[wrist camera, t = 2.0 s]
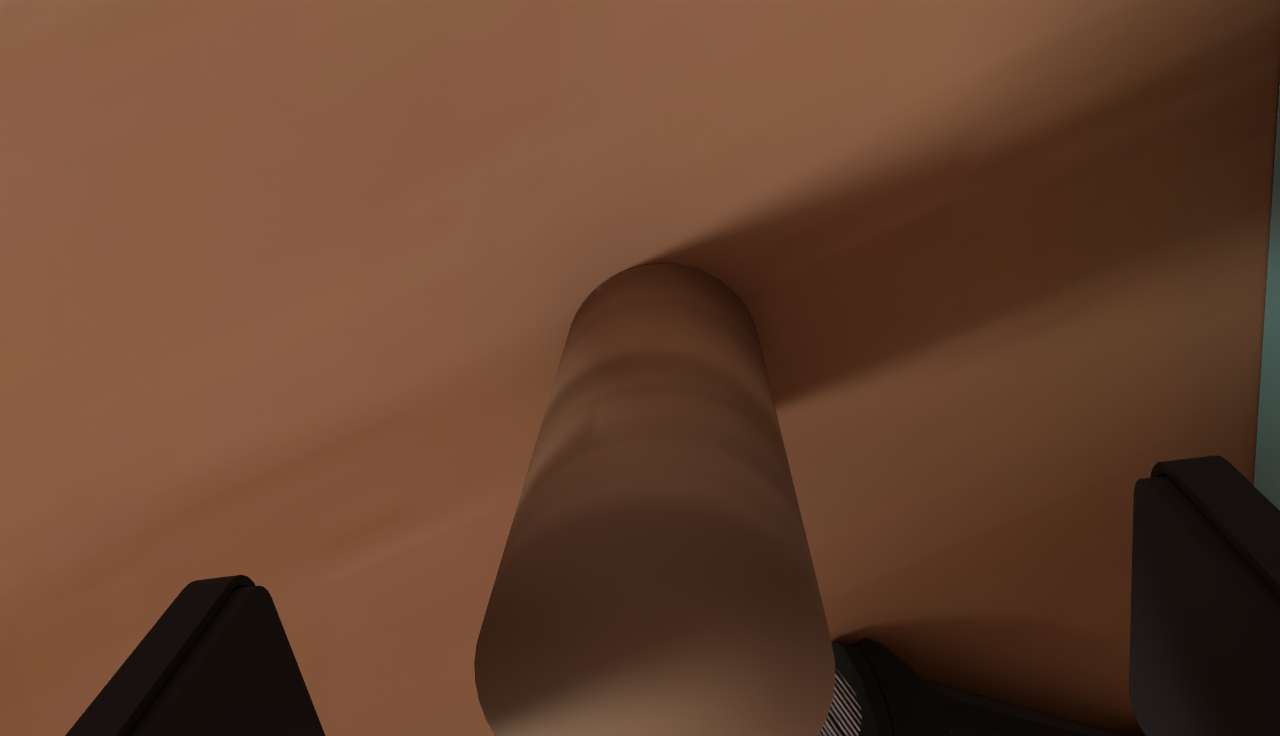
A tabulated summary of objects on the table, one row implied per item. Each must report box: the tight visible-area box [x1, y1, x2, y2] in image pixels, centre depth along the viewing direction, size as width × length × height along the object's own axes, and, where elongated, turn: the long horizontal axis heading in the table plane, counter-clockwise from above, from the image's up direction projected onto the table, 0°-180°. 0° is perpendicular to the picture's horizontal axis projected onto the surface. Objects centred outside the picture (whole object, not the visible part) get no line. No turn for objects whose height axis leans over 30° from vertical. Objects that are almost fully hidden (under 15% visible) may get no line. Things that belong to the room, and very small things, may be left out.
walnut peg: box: [474, 263, 835, 736], centre depth 15 cm, size 4×4×10 cm
